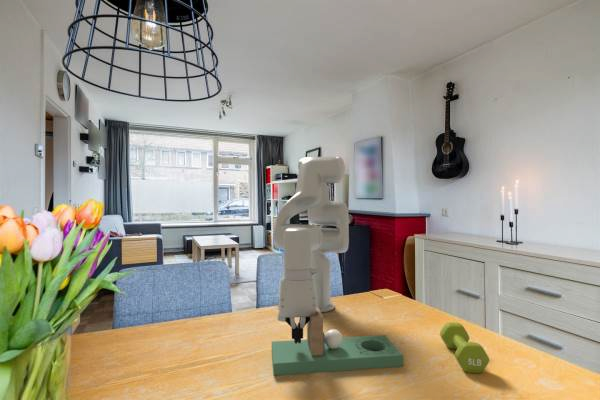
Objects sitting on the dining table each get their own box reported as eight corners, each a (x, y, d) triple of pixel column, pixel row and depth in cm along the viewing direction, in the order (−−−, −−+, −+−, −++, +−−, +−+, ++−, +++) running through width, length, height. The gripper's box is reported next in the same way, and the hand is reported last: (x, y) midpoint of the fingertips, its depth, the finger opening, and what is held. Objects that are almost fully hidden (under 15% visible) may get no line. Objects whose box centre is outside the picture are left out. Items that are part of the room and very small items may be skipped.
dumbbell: (491, 376, 79) (491, 348, 79) (457, 374, 80) (457, 345, 80) (466, 345, 96) (466, 321, 95) (438, 343, 97) (438, 320, 97)
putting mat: (271, 351, 91) (271, 341, 91) (385, 344, 96) (385, 334, 96) (273, 375, 79) (273, 363, 79) (403, 366, 84) (403, 354, 84)
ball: (319, 333, 89) (333, 322, 90) (328, 347, 90) (343, 336, 90) (322, 341, 84) (337, 330, 85) (332, 356, 85) (348, 345, 85)
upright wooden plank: (307, 341, 91) (307, 306, 90) (319, 340, 91) (319, 306, 91) (311, 355, 83) (311, 317, 82) (324, 354, 83) (325, 316, 83)
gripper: (322, 269, 90) (322, 333, 91) (269, 271, 89) (269, 336, 89) (327, 276, 83) (327, 346, 83) (269, 278, 81) (269, 349, 82)
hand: (297, 340), depth 86 cm, fingers closed
